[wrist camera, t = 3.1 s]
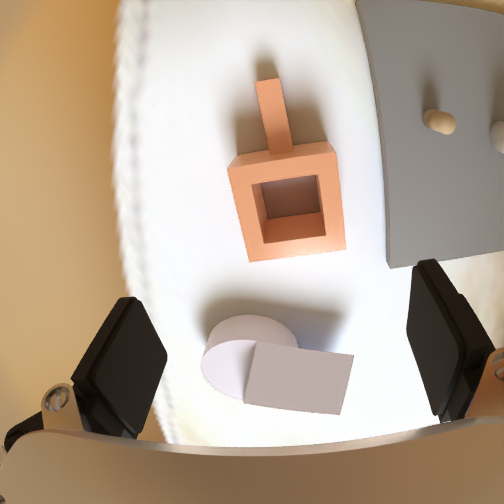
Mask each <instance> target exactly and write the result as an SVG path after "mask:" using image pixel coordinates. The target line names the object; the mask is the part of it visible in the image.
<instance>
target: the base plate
mask: <svg viewBox="0 0 504 504" xmlns="http://www.w3.org/2000/svg"><path fill="white" fill-rule="evenodd" d="M356 7H357V11H358V15H359V19H360V23H361V27H362V32H363V36H364V41H365V45H366V50H367V55H368V60H369V66H370V71H371V77H372V82H373V88H374V95H375V101H376V108H377V116H378V123H379V132H380V141H381V151H382V161H383V174H384V189H385V208H386V261H387V263H388V266H389V268H390V269H392V268H399V267H406V266H413V265H417V263H418V261H420V260H426V259H432V258H434V259H436V260H437V262H438V261H445V260H451V259H457V258H463V257H469V256H475V255H480V254H486V253H492V252H497V251H503V250H504V14H501V13H496V12H492V11H487V10H483V9H477V8H472V7H466V6H460V5H454V4H446V3H438V2H429V1H418V0H358V1H357V2H356ZM427 109H434V110H438V111H443V112H447V113H450V114H451V115H452V116H453V117H454V118H455V121H456V128H455V130H454V131H453V132H452V133H451V134H448V135H447V134H443V133H440V132H438V131H435V130H432V129H430V128H427V127H426V126H425V125H424V123H423V121H422V115H423V113H424V111H425V110H427Z"/></svg>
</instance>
